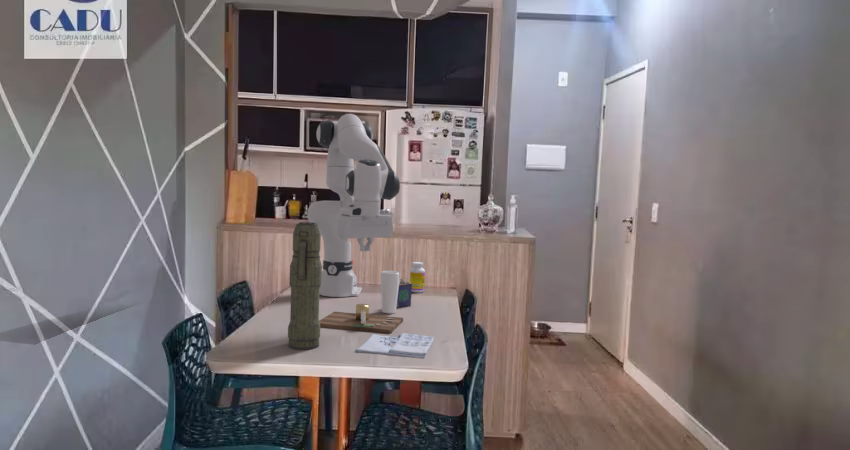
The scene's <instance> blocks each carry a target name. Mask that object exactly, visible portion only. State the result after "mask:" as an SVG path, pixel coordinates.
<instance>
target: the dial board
mask: <svg viewBox="0 0 850 450" xmlns="http://www.w3.org/2000/svg"><path fill="white" fill-rule="evenodd" d="M319 322H320V328H328V329H329V328H330V329H339V330H348V331H349V330H352V331H358V330H359V332H361V331H362V332H371V333H380V334H392V333H393V332H394V331H395V330H396V329H397V328H398V327H399V326H400V325H401V324H402V323H403V322H404V317H399V316H397V317H396V316H390V315H389V316H388V315H387V316H386V315H376V314H375V315H374V314H369V320H366V324H361V321H359V320H356V312H355V313H354V312H343V311H332V312H331V313H330V314H327V315H326V316H324V317H323V318H321V319H320V320H319Z"/></svg>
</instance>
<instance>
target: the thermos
mask: <svg viewBox="0 0 850 450" xmlns="http://www.w3.org/2000/svg"><path fill="white" fill-rule="evenodd" d="M321 238H322V235H321V233H320V229H319V226H318V225H317V224H316V223H310V221H309V222H306V221H305V222H298V223H296V224H295V227H294V230H293V233H292V252H293V253H292V256H291V257H292V259H291V263H290V264H289V265H290V266H289V286H290V313H289V314H290V316H289V317H290V319H289V320H290V321H289V323H288V326H287V338H288V343H287V344H288V348H290V349H293V350H298V351H308V350H309V351H310V350H314V349H317V348H319V347H320V337H321V327H320V322H319V319H320V315H319V313H320V294H319V290H320V286H321V279H322V271H323V270H322V269H323V264H322V261H321V256H320V251H321V240H322V239H321Z"/></svg>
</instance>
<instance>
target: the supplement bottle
mask: <svg viewBox="0 0 850 450" xmlns="http://www.w3.org/2000/svg"><path fill="white" fill-rule="evenodd" d="M423 266H424V262H422V261H421V262H420V261H412V267H411V268H410V269H409V270H410V271H409V283H412V292H411V293H415V294H416V293H423V292H425V285H426V283H425V282H426V281H425V280H426V279H425V278H426V277H425V276H426V270H425V269H424V268H423Z"/></svg>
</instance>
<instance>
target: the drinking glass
mask: <svg viewBox="0 0 850 450" xmlns="http://www.w3.org/2000/svg"><path fill="white" fill-rule="evenodd" d="M380 273H381V274H380V293H381V296H380V297H381V312H382V313H383V314H386V315H387V314H388V315H389V314H391V315H392V314H395V313H396V312H397V308H396V306H397V298H398V290H399V284H400V271H397V270H382V271H381V272H380Z"/></svg>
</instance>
